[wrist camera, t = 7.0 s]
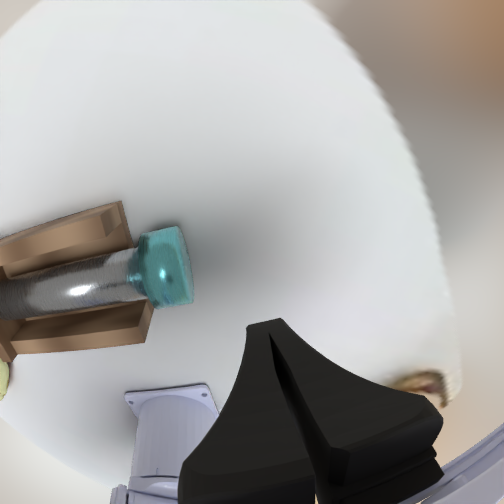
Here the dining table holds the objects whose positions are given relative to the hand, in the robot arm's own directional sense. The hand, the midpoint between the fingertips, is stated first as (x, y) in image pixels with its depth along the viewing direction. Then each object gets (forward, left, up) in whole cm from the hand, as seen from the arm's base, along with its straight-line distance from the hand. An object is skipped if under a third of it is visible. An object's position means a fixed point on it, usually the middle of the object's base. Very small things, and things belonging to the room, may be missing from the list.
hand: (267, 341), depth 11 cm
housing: (+1, +13, -9) cm, 16 cm away
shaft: (+1, +11, -9) cm, 14 cm away
